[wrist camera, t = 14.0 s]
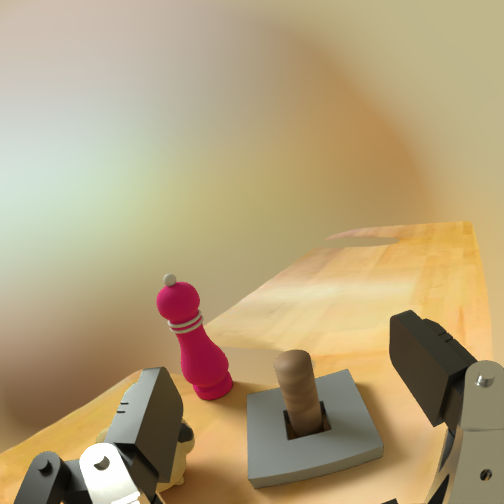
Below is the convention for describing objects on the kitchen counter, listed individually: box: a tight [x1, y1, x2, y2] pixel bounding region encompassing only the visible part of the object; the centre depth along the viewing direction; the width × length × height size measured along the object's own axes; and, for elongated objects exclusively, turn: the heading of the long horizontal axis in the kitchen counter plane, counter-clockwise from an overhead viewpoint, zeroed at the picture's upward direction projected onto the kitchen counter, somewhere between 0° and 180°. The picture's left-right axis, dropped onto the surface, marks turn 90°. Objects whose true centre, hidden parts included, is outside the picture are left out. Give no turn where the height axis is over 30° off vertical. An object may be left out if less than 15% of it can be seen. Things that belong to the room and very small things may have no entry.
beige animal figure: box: [95, 418, 195, 493], centre depth 25 cm, size 10×12×11 cm
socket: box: [247, 369, 384, 488], centre depth 29 cm, size 14×14×2 cm
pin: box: [274, 350, 324, 439], centre depth 28 cm, size 4×4×12 cm
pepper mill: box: [157, 273, 233, 400], centre depth 40 cm, size 7×7×20 cm
